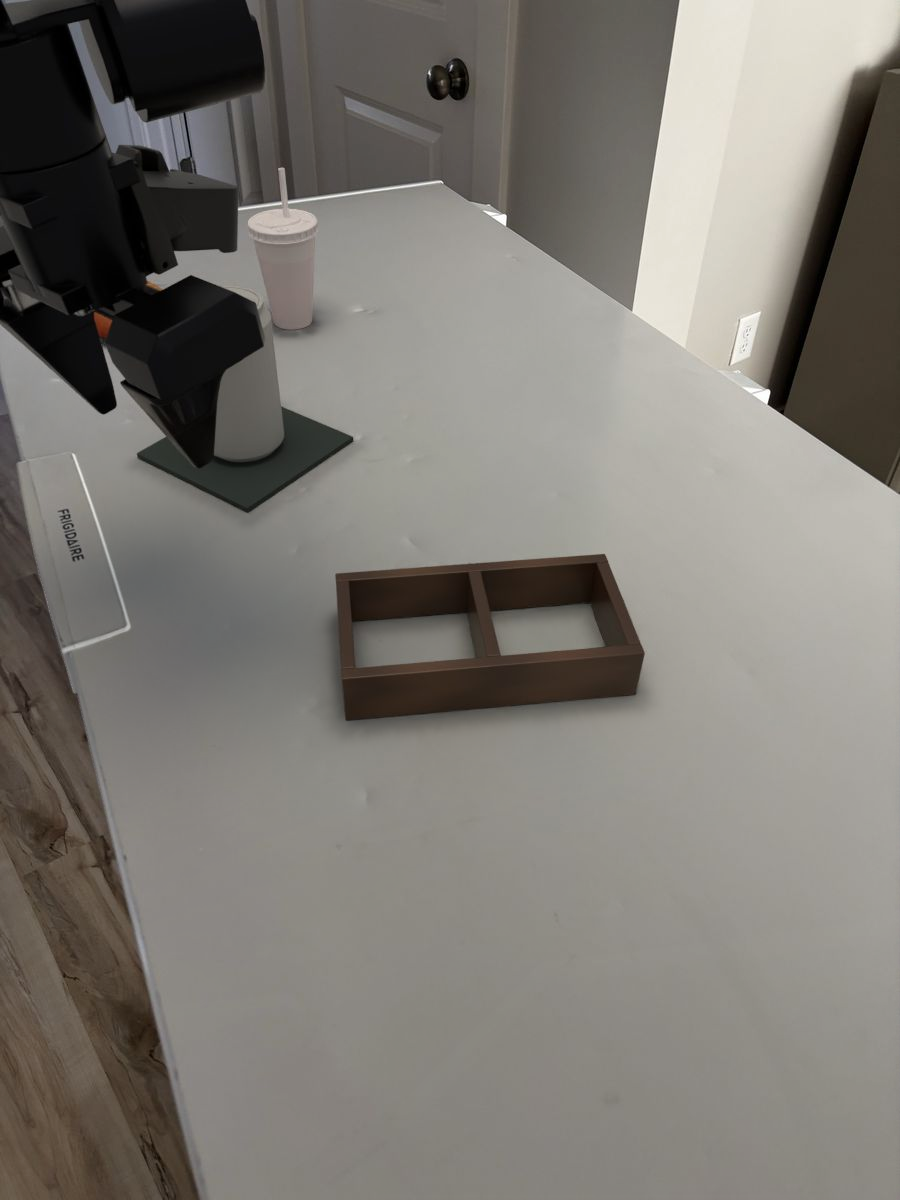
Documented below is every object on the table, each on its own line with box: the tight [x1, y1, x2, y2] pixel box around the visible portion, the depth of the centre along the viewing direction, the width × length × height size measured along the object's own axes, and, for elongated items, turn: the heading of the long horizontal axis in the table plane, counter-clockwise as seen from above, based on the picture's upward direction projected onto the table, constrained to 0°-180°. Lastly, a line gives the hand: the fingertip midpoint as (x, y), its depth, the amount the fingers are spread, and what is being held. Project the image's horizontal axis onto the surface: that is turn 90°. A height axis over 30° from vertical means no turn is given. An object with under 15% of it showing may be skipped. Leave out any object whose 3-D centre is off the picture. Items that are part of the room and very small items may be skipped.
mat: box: [136, 405, 354, 513], centre depth 74 cm, size 12×12×1 cm
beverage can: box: [214, 284, 284, 462], centre depth 69 cm, size 6×6×12 cm
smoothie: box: [247, 167, 320, 331], centre depth 86 cm, size 6×6×14 cm
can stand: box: [334, 553, 646, 721], centre depth 56 cm, size 17×9×4 cm, turn 97°
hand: (154, 436), depth 52 cm, fingers open, 9 cm apart
